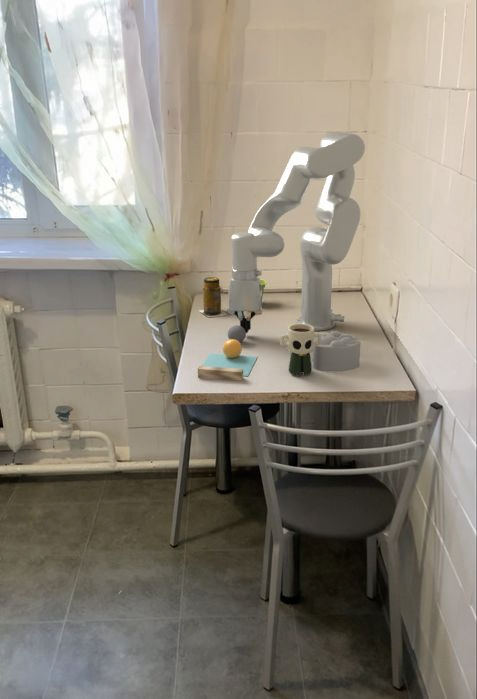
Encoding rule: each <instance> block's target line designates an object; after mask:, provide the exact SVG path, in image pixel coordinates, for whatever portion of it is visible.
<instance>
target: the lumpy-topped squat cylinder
mask: <svg viewBox="0 0 477 699" xmlns="http://www.w3.org/2000/svg"><path fill="white" fill-rule="evenodd" d="M320 334H321V344H320V345H314V349H313V351H312V353H311V354H312V355H311V363H312V369H314V370H316V371H319V372H320V371H321V372H333V373H335V372H340V373H341V372H348V371H353V370H356V369H357V368H359V367H360V360H361V358H360V357H361V340H360V339H359V338H357V337H354V336H352V335H351V334H349V333H341V332H340V331H339V330H331V331H330V332H329V333H324V332H323V333H320ZM317 341H318V337H314V342H317Z"/></svg>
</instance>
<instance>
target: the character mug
mask: <svg viewBox="0 0 477 699" xmlns="http://www.w3.org/2000/svg"><path fill="white" fill-rule="evenodd" d="M321 334H322V333H317V332H315V331H314V327H313V326H311V325H308V324H296V323H294V324H293V323H292V324H291V325H288V327H287V334H280V346H281V347H287V349H288V351H289V352H290V353H291V354H290V359H289V365H288V371H289V373H290V374H292V375H293V376H301V374H302V373H303V376H308V375H310V374H311V373H312V372H313V371H312V370H313V365H312V356H311V354H310V353H311V352H312V351H313V349H314V345H320V344H321ZM314 337H318V341H317V342H314ZM285 339H287V342H285Z"/></svg>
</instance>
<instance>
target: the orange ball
mask: <svg viewBox="0 0 477 699" xmlns="http://www.w3.org/2000/svg"><path fill="white" fill-rule="evenodd" d="M242 349H243V348H242V343H240V342H239V341H237V340H235V339H230V340H229V339H228V340H226V341H225V342H224V343H223V345H222V352H223V353H222V354H225V355H226V356H227V357H228V358H236V357H238V356H239V355H241V353H242V351H243V350H242Z"/></svg>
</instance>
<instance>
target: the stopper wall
mask: <svg viewBox="0 0 477 699" xmlns="http://www.w3.org/2000/svg"><path fill="white" fill-rule="evenodd" d="M197 372H198V373H197V377H198V378H202V379H215V380H225V381H226V380H227V381H240V382H241V381H243V379H244V376H243V369H234V368H221V367H207V366H202V365H199V367H197Z"/></svg>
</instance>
